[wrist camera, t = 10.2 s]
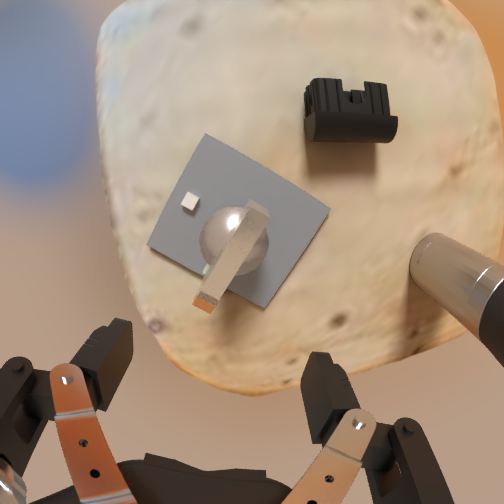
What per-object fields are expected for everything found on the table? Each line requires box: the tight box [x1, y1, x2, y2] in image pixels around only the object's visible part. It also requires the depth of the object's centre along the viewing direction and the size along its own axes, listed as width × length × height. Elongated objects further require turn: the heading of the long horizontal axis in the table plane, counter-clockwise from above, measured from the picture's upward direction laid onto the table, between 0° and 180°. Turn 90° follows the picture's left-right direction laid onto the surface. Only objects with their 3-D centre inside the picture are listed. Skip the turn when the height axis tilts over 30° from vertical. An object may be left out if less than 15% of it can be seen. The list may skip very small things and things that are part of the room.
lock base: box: [147, 133, 331, 308], centre depth 33 cm, size 18×16×6 cm
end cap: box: [304, 78, 398, 143], centre depth 29 cm, size 10×7×7 cm
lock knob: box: [192, 199, 271, 314], centre depth 26 cm, size 10×7×7 cm
